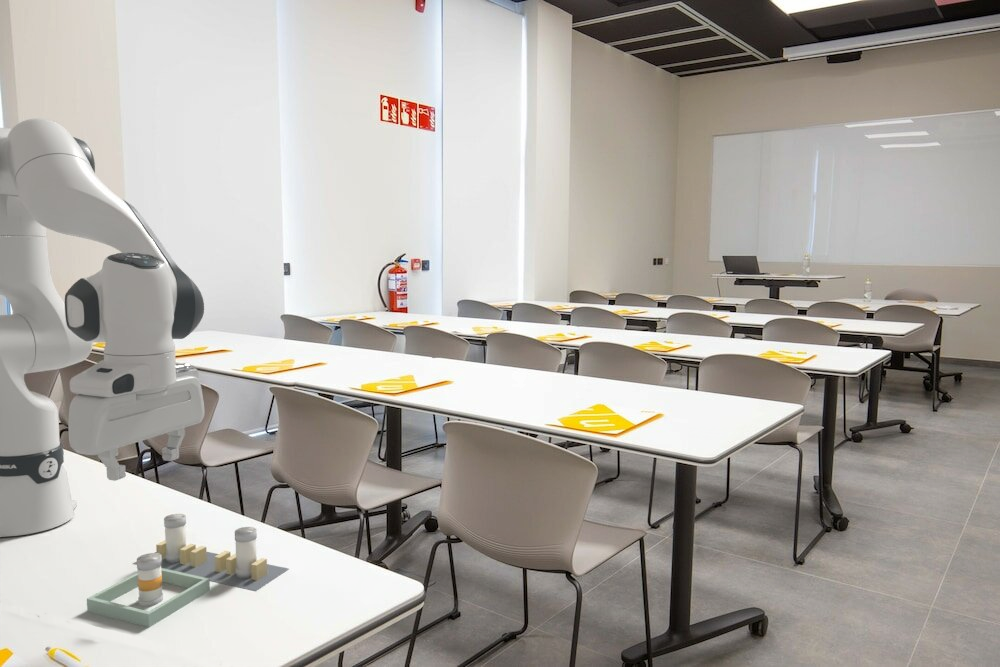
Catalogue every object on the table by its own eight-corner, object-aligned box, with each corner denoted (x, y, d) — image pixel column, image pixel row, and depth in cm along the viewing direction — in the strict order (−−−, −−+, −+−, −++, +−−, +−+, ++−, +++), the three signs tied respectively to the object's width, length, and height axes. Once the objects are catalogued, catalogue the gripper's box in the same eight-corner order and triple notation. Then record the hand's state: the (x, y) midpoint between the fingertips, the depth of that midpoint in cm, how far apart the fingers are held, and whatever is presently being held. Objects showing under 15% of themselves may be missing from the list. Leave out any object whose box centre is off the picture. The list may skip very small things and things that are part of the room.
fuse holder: (133, 570, 115) (132, 549, 115) (171, 551, 122) (170, 530, 122) (256, 598, 107) (255, 575, 106) (289, 575, 114) (289, 554, 114)
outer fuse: (231, 576, 111) (230, 532, 110) (245, 567, 114) (244, 525, 113) (248, 580, 110) (247, 536, 109) (261, 571, 113) (260, 528, 112)
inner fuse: (161, 560, 116) (159, 519, 115) (176, 553, 119) (174, 512, 118) (176, 564, 115) (175, 522, 114) (191, 556, 118) (190, 515, 117)
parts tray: (87, 619, 100) (86, 598, 100) (151, 584, 111) (151, 565, 110) (149, 635, 96) (148, 614, 96) (210, 597, 107) (209, 578, 106)
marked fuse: (133, 607, 102) (131, 560, 102) (151, 597, 105) (149, 551, 105) (150, 611, 101) (148, 564, 101) (168, 601, 104) (166, 555, 104)
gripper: (180, 359, 110) (183, 447, 112) (57, 382, 91) (63, 487, 93) (213, 362, 108) (215, 452, 110) (94, 386, 89) (99, 494, 90)
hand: (144, 468), depth 101 cm, fingers open, 8 cm apart
